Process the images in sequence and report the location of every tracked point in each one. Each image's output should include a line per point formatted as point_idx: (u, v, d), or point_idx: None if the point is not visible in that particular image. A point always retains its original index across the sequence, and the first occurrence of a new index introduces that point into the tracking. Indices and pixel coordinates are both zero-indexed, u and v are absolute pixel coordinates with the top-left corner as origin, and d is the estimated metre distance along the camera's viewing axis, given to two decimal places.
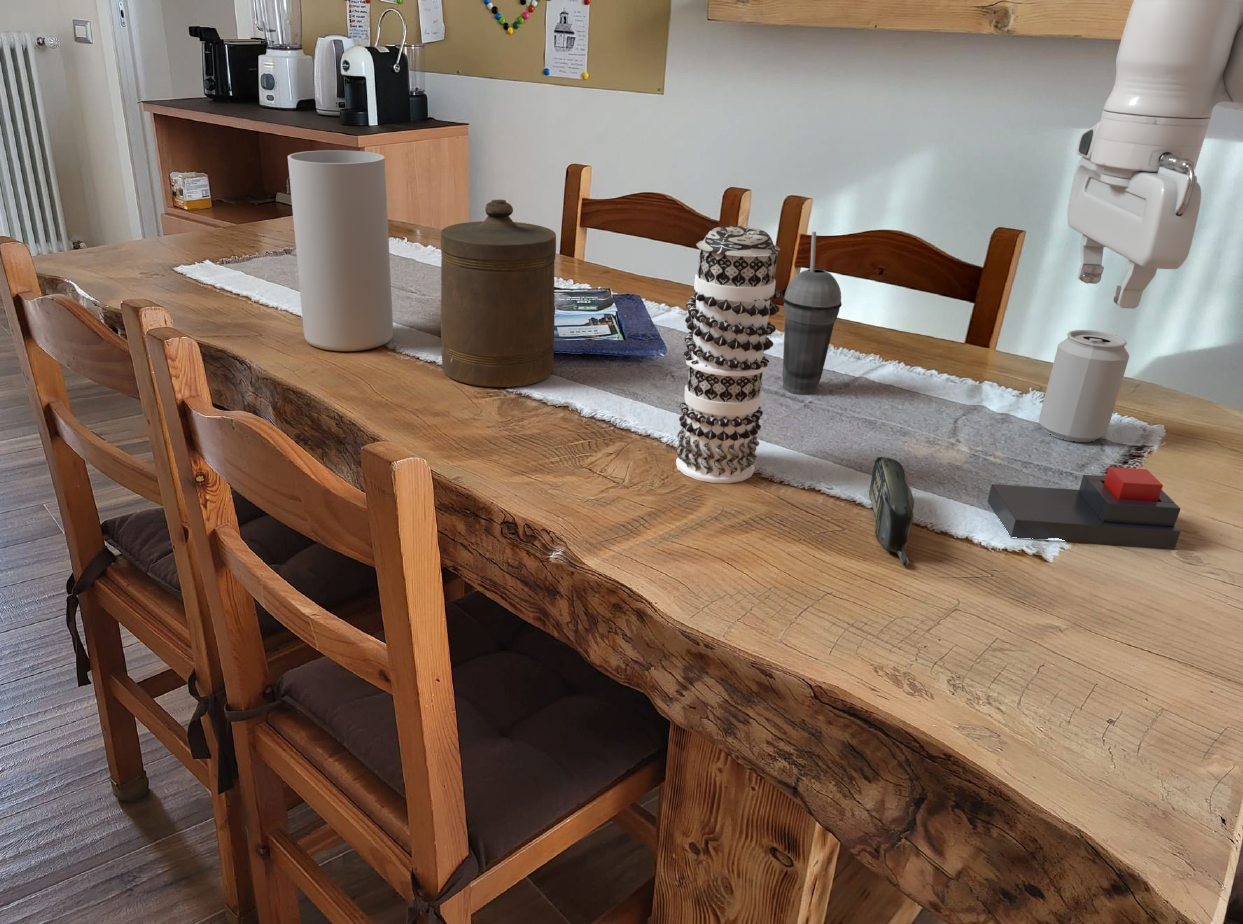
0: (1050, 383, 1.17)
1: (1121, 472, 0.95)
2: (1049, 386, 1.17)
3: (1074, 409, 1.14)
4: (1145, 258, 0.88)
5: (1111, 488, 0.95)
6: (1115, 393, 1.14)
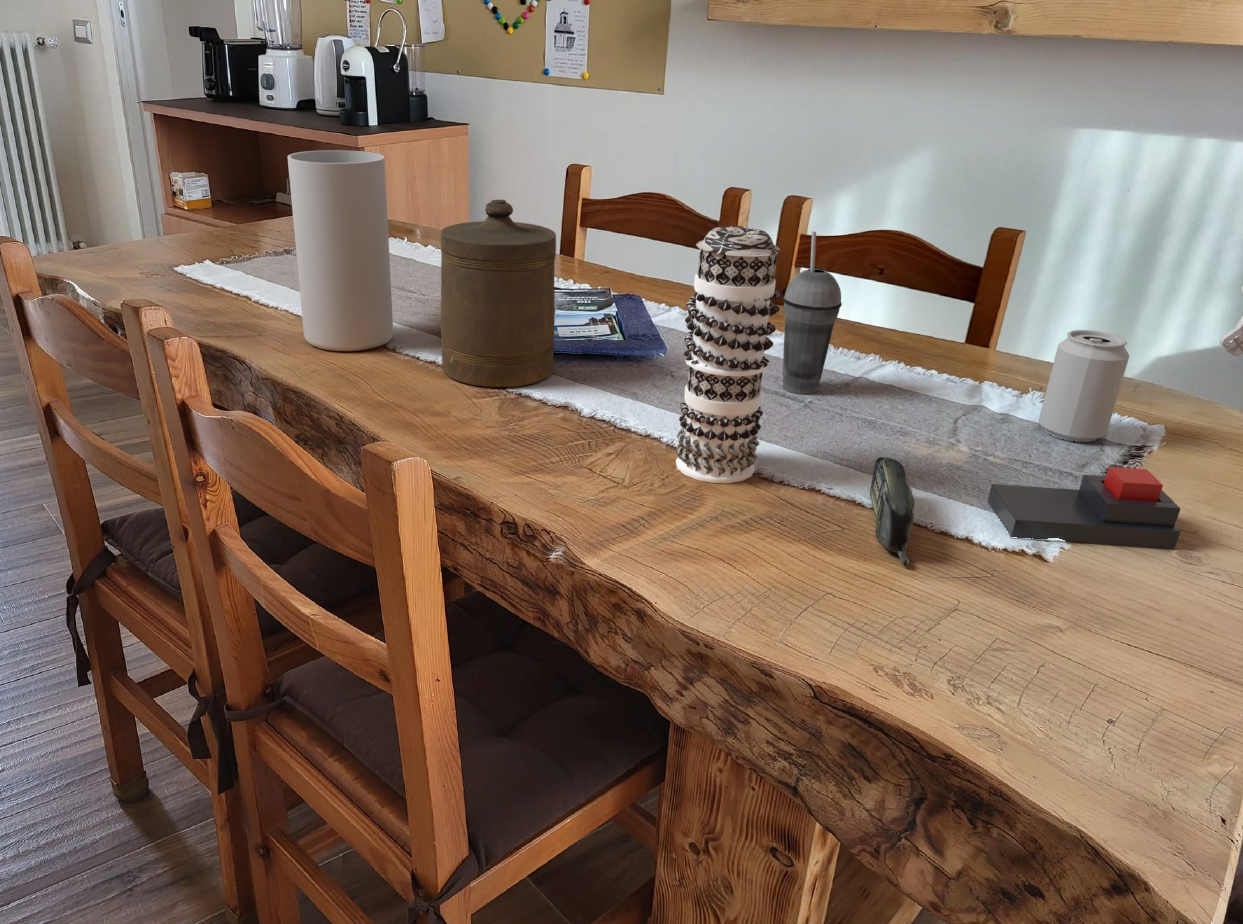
0: (1050, 383, 1.17)
1: (1121, 472, 0.95)
2: (1049, 386, 1.17)
3: (1074, 409, 1.14)
4: None
5: (1111, 488, 0.95)
6: (1115, 392, 1.14)
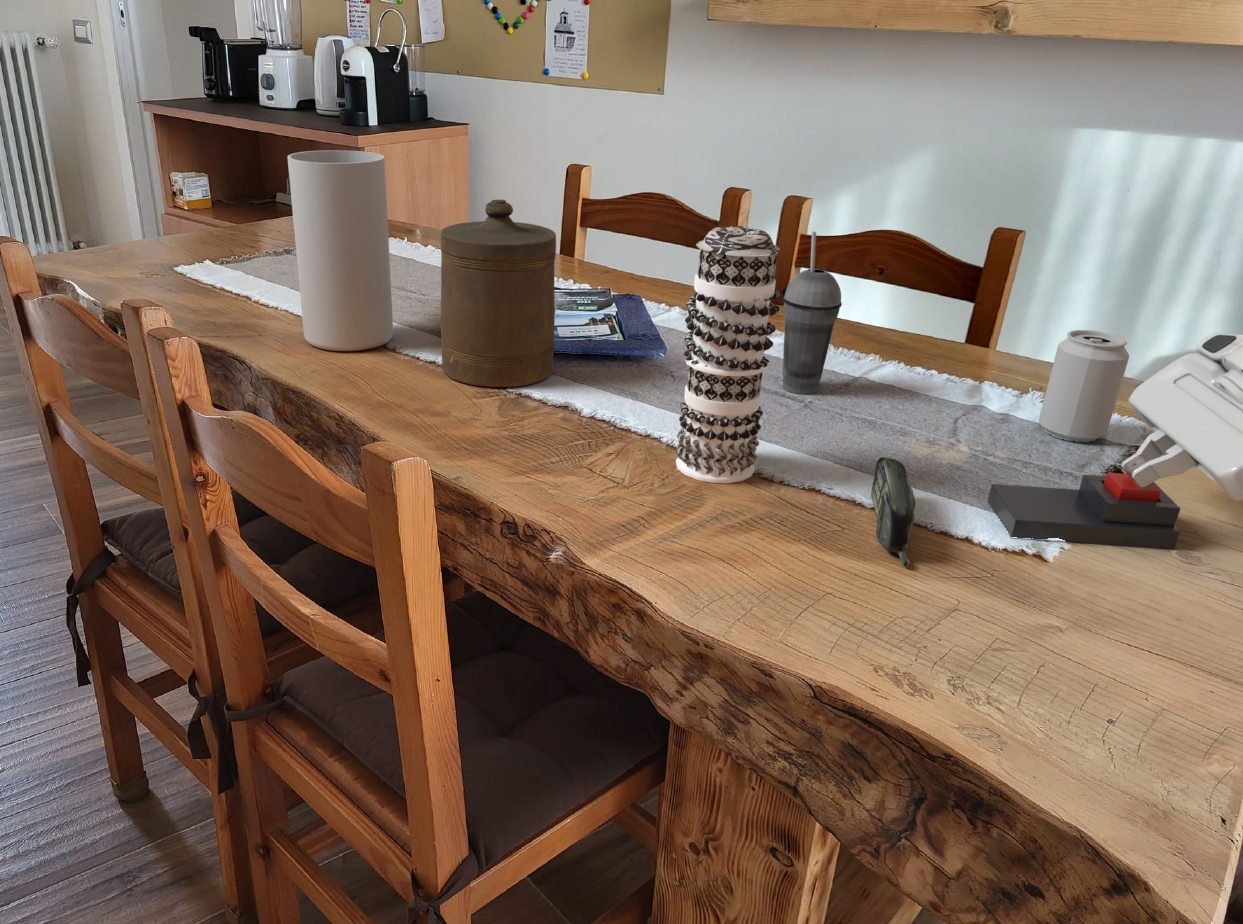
0: (1050, 383, 1.17)
1: (1119, 478, 0.95)
2: (1049, 386, 1.17)
3: (1074, 409, 1.14)
4: (1229, 470, 0.83)
5: None
6: (1115, 393, 1.14)
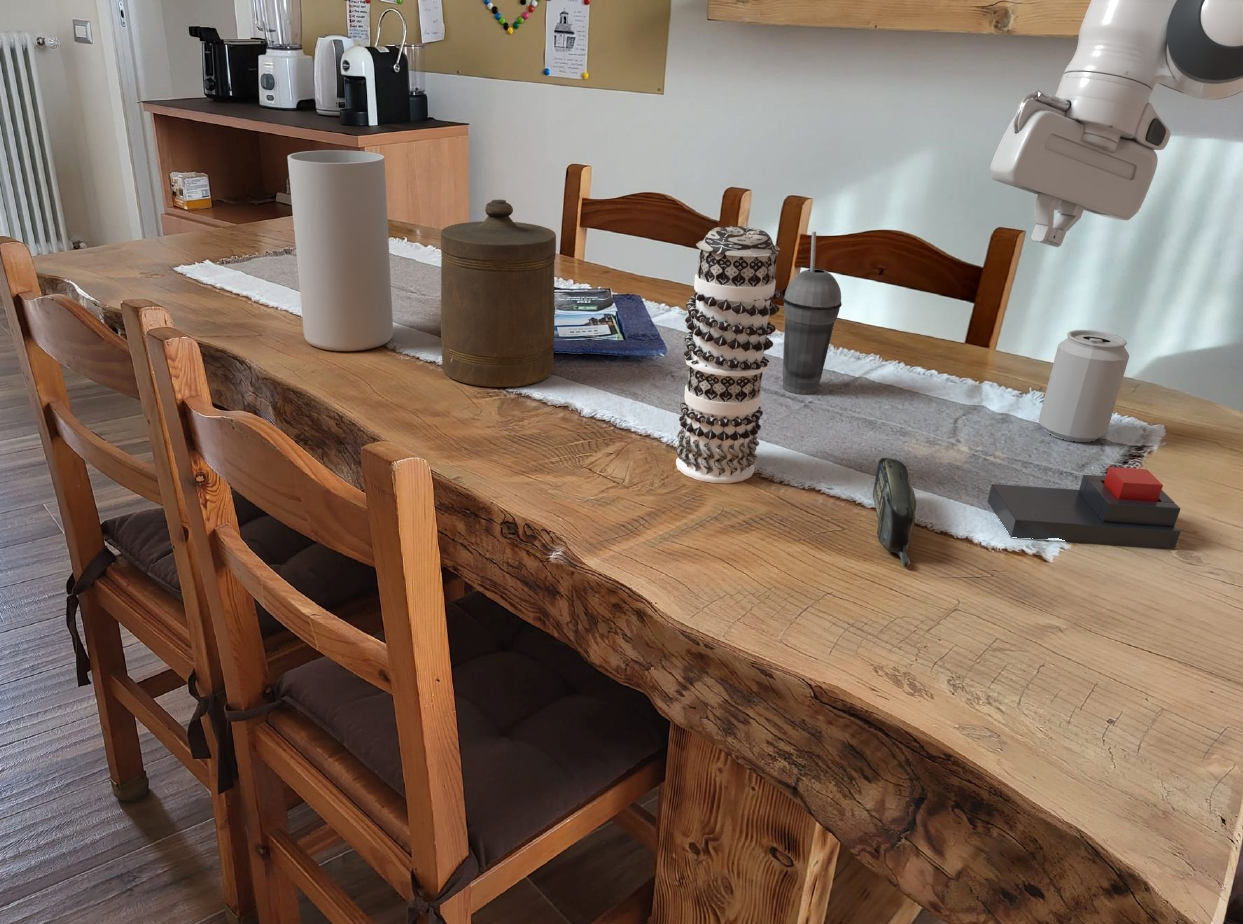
0: (1050, 383, 1.17)
1: (1121, 472, 0.95)
2: (1049, 386, 1.17)
3: (1074, 409, 1.14)
4: (990, 169, 1.04)
5: (1111, 488, 0.95)
6: (1115, 392, 1.14)
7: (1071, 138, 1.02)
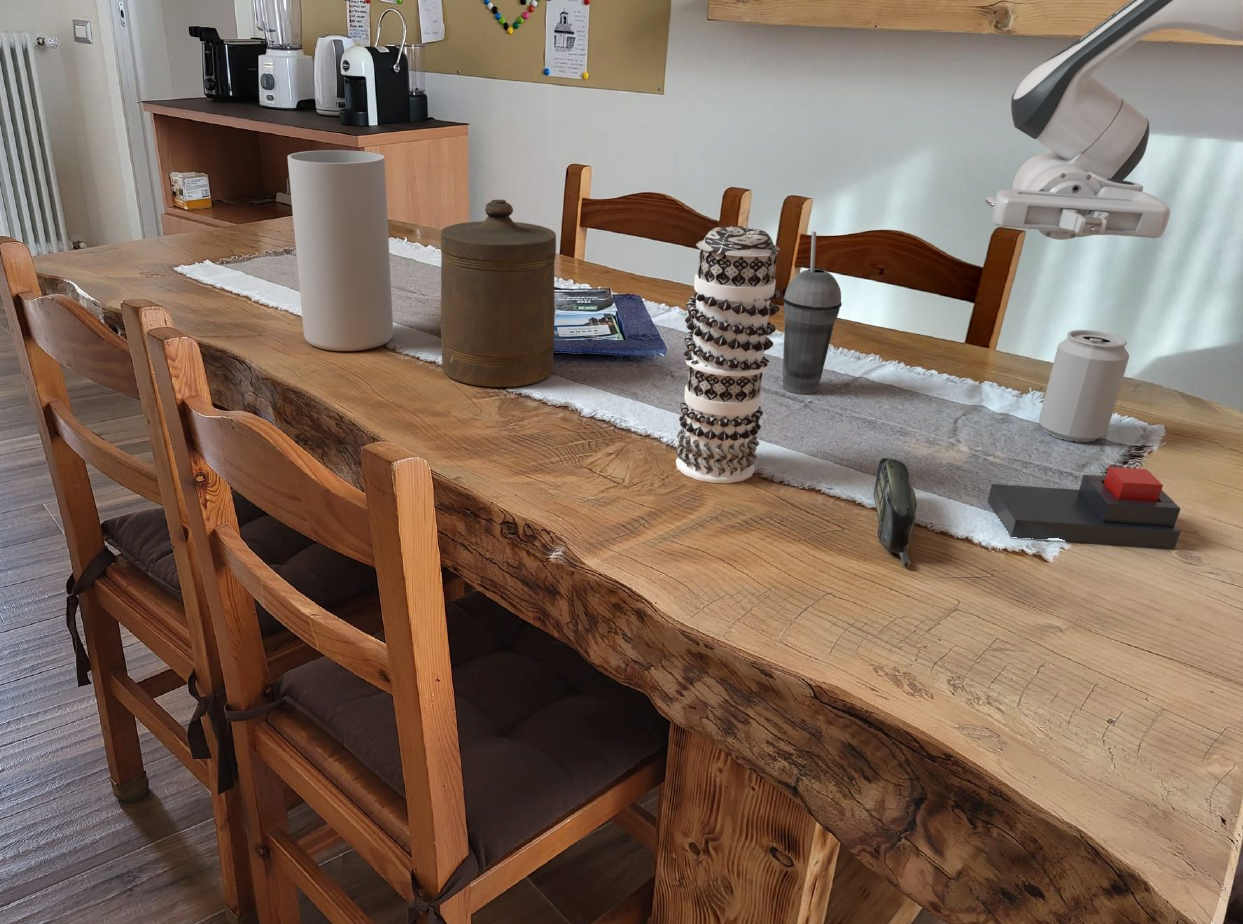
0: (1050, 383, 1.17)
1: (1121, 472, 0.95)
2: (1049, 386, 1.17)
3: (1074, 409, 1.14)
4: None
5: (1111, 488, 0.95)
6: (1115, 393, 1.14)
7: (1043, 192, 1.28)
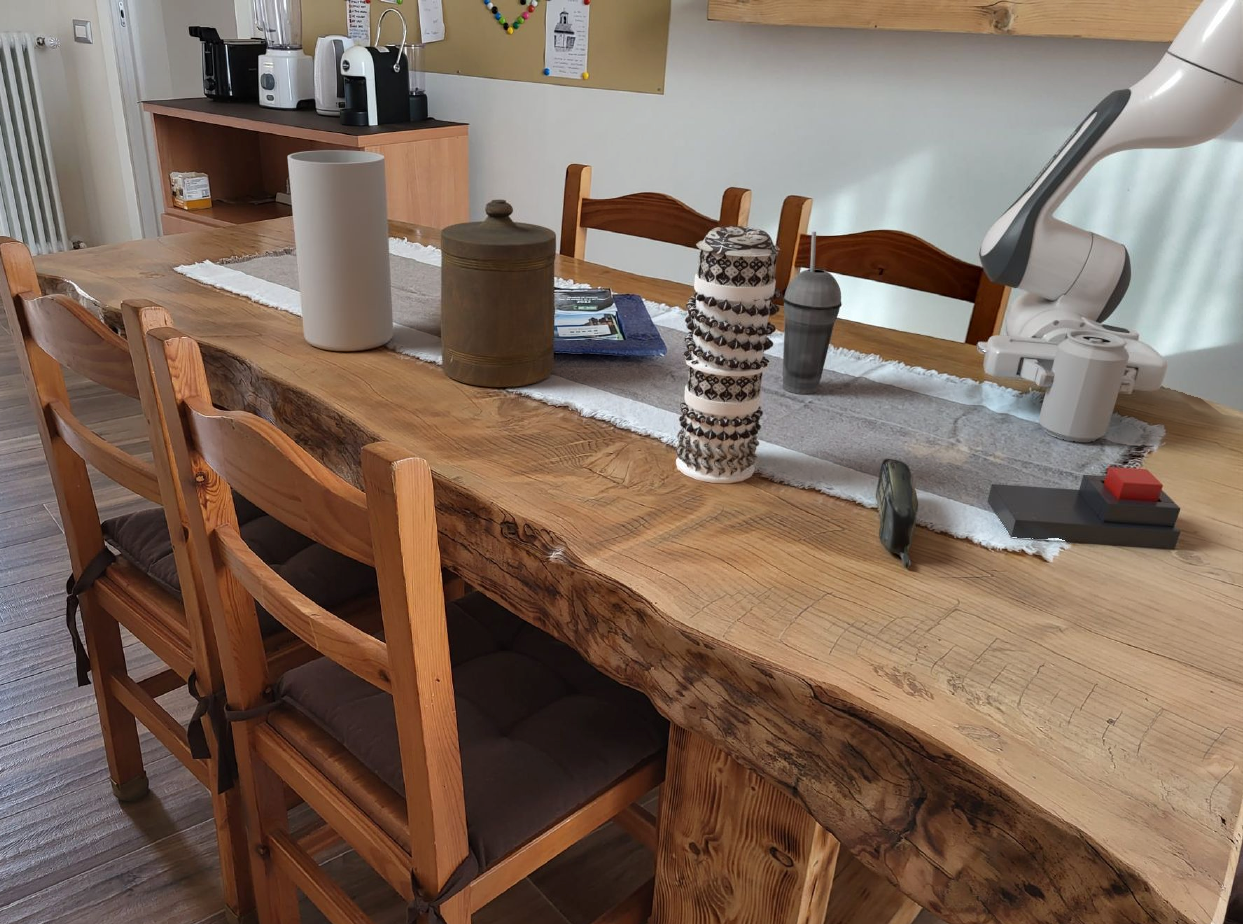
0: None
1: (1121, 472, 0.95)
2: None
3: (1074, 409, 1.14)
4: (988, 374, 1.22)
5: (1111, 488, 0.95)
6: (1115, 393, 1.14)
7: (1036, 340, 1.24)
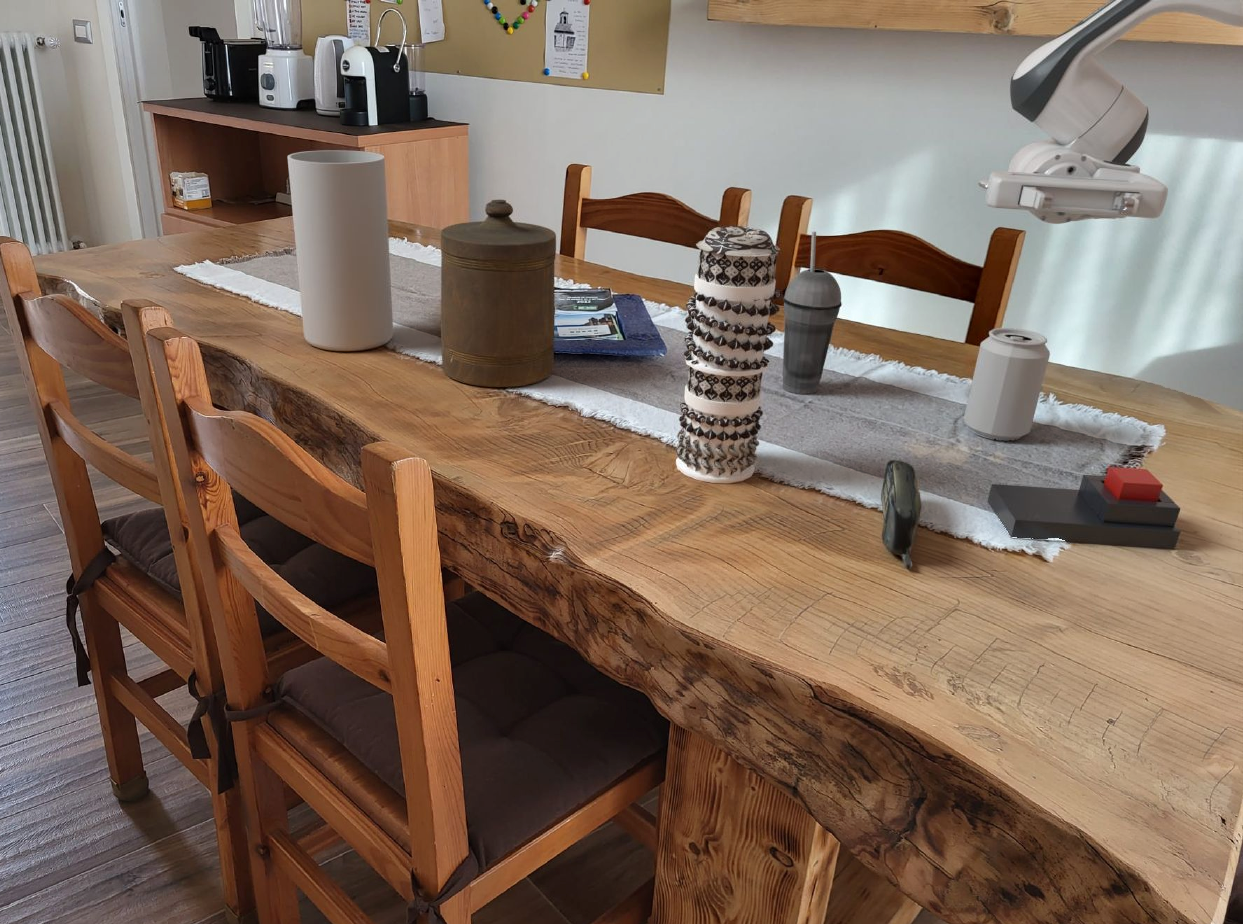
0: (973, 381, 1.16)
1: (1121, 472, 0.95)
2: (972, 384, 1.17)
3: (996, 408, 1.14)
4: (990, 206, 1.23)
5: (1111, 488, 0.95)
6: (1036, 391, 1.13)
7: (1037, 174, 1.25)
